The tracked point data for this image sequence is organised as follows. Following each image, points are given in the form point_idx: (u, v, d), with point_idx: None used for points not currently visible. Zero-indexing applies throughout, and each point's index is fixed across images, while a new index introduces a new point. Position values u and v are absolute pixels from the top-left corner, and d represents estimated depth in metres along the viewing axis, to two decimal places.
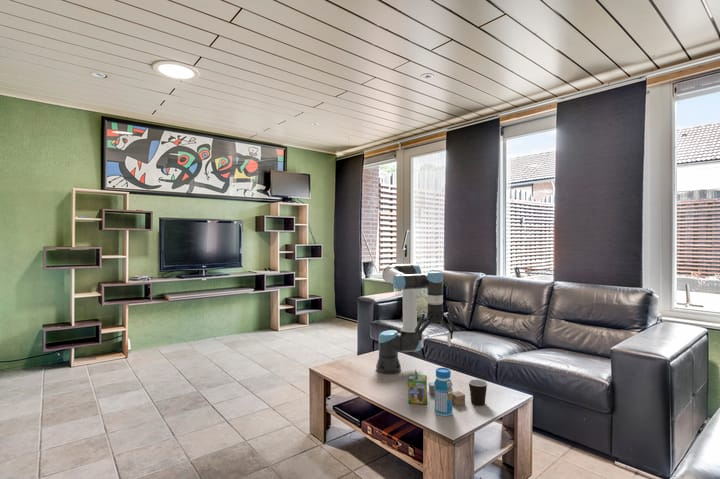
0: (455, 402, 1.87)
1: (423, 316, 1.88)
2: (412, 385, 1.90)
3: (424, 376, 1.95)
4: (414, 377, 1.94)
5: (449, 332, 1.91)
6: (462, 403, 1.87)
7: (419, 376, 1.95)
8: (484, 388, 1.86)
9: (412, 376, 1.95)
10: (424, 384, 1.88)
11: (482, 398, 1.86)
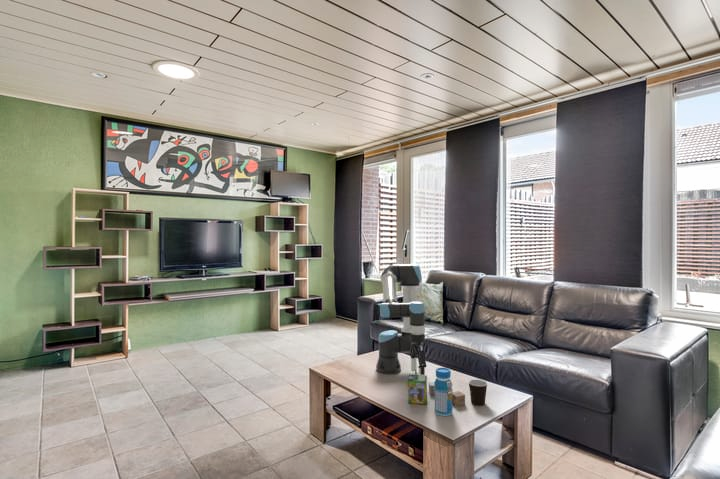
0: (455, 402, 1.87)
1: (411, 342, 1.99)
2: (412, 385, 1.90)
3: None
4: (414, 377, 1.94)
5: None
6: (462, 403, 1.87)
7: None
8: (484, 388, 1.86)
9: (412, 376, 1.95)
10: (424, 384, 1.88)
11: (482, 398, 1.86)
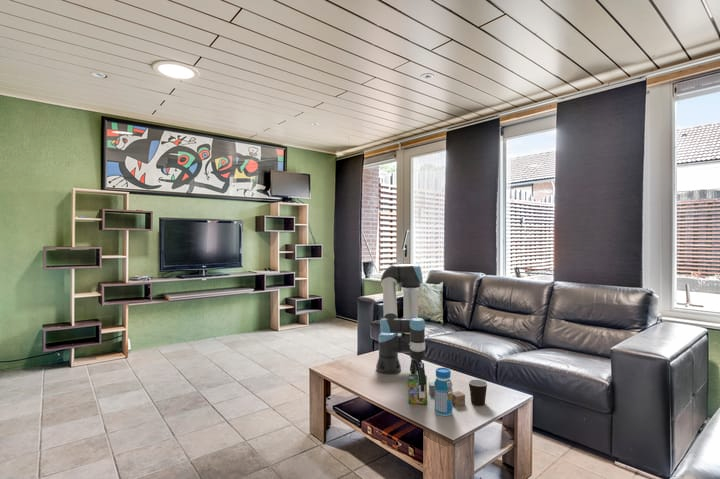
0: (455, 402, 1.87)
1: (411, 358, 1.99)
2: (412, 385, 1.90)
3: None
4: (414, 377, 1.94)
5: None
6: (462, 403, 1.87)
7: None
8: (484, 388, 1.86)
9: (412, 376, 1.95)
10: None
11: (482, 398, 1.86)
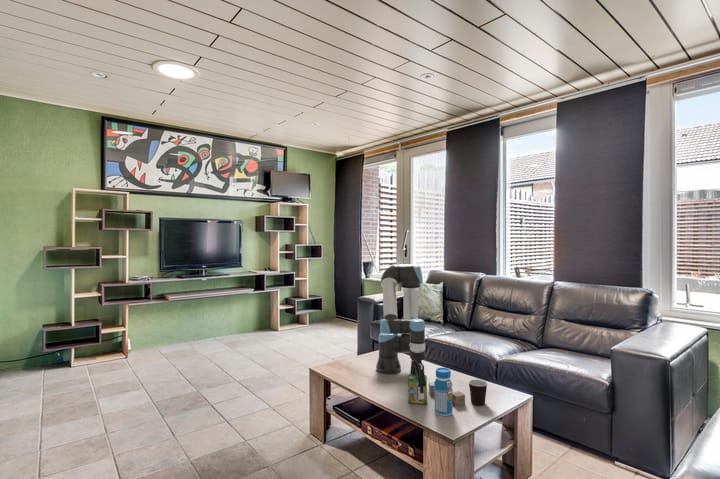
0: (455, 402, 1.87)
1: (411, 359, 1.99)
2: (412, 385, 1.90)
3: None
4: (414, 377, 1.94)
5: None
6: (462, 403, 1.87)
7: None
8: (484, 388, 1.86)
9: (412, 376, 1.95)
10: None
11: (482, 398, 1.86)
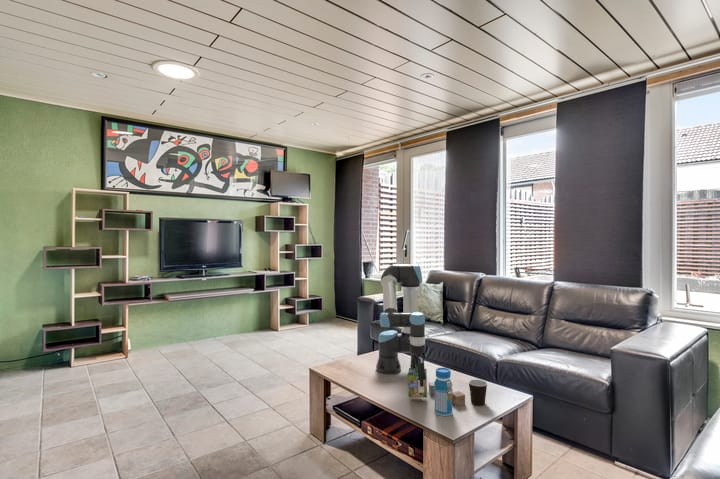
0: (455, 402, 1.87)
1: (411, 353, 1.99)
2: (412, 379, 1.90)
3: None
4: (414, 371, 1.94)
5: None
6: (462, 403, 1.87)
7: None
8: (484, 388, 1.86)
9: (412, 369, 1.95)
10: None
11: (482, 398, 1.86)
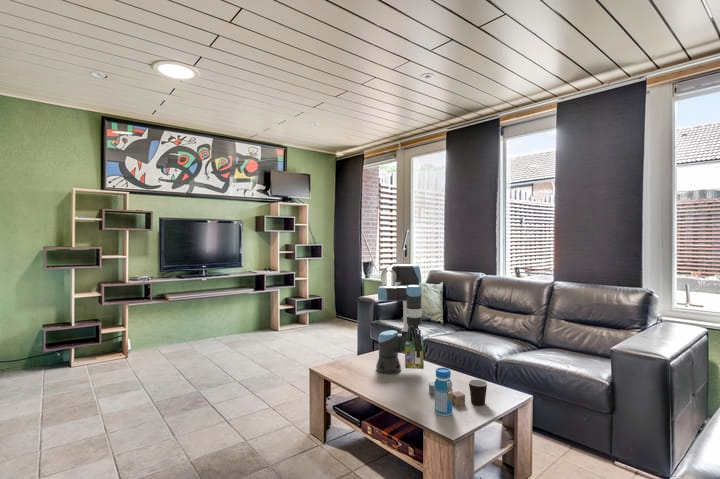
0: (455, 402, 1.87)
1: (408, 326, 2.00)
2: (408, 351, 1.91)
3: (421, 342, 1.96)
4: (411, 343, 1.94)
5: None
6: (462, 403, 1.87)
7: None
8: (484, 388, 1.86)
9: (409, 342, 1.96)
10: None
11: (482, 398, 1.86)
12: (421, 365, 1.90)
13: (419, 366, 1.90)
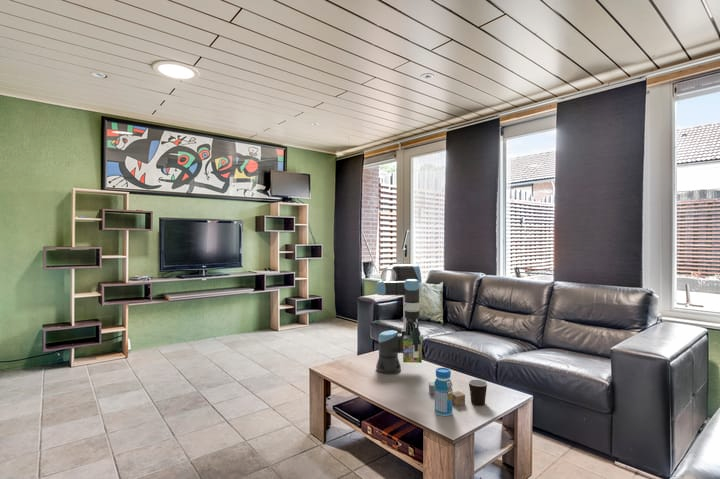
0: (455, 402, 1.87)
1: (406, 320, 2.01)
2: (406, 344, 1.91)
3: (419, 336, 1.96)
4: (409, 337, 1.95)
5: None
6: (462, 403, 1.87)
7: None
8: (484, 388, 1.86)
9: (407, 336, 1.96)
10: None
11: (482, 398, 1.86)
12: (419, 359, 1.90)
13: (417, 360, 1.90)
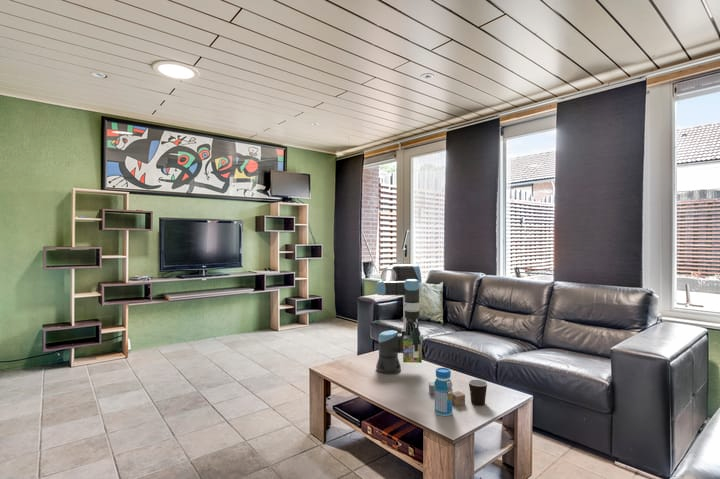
0: (455, 402, 1.87)
1: (406, 320, 2.01)
2: (406, 344, 1.91)
3: (419, 336, 1.96)
4: (409, 337, 1.95)
5: None
6: (462, 403, 1.87)
7: None
8: (484, 388, 1.86)
9: (407, 336, 1.96)
10: None
11: (482, 398, 1.86)
12: (419, 359, 1.90)
13: (417, 360, 1.90)
